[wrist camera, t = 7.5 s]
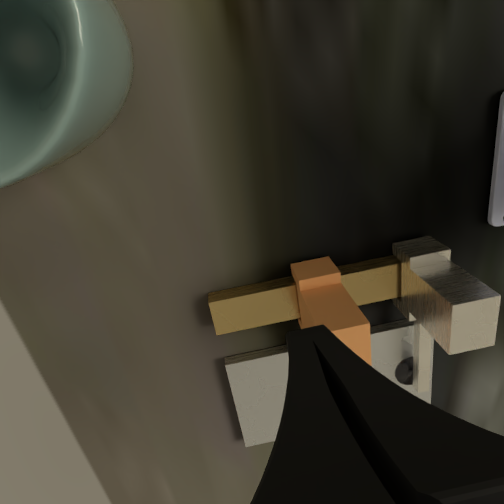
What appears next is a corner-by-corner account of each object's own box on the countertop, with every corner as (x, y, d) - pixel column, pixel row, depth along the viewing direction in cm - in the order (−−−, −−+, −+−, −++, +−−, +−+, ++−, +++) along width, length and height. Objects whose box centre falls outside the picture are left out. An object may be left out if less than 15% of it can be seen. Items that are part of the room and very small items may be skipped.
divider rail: (431, 233, 23) (508, 281, 17) (426, 364, 28) (486, 439, 22) (204, 279, 23) (204, 345, 17) (236, 406, 27) (245, 494, 21)
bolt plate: (428, 314, 26) (435, 321, 25) (424, 398, 29) (431, 406, 28) (224, 357, 25) (225, 366, 24) (244, 438, 28) (245, 448, 28)
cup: (90, 176, 19) (-12, 250, 10) (-63, 67, 17) (-381, 39, 8) (179, 51, 18) (152, 9, 9) (23, -93, 15) (-257, -377, 6)
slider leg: (328, 256, 23) (369, 310, 17) (340, 386, 27) (375, 464, 21) (290, 264, 23) (318, 321, 17) (308, 393, 27) (335, 473, 21)
